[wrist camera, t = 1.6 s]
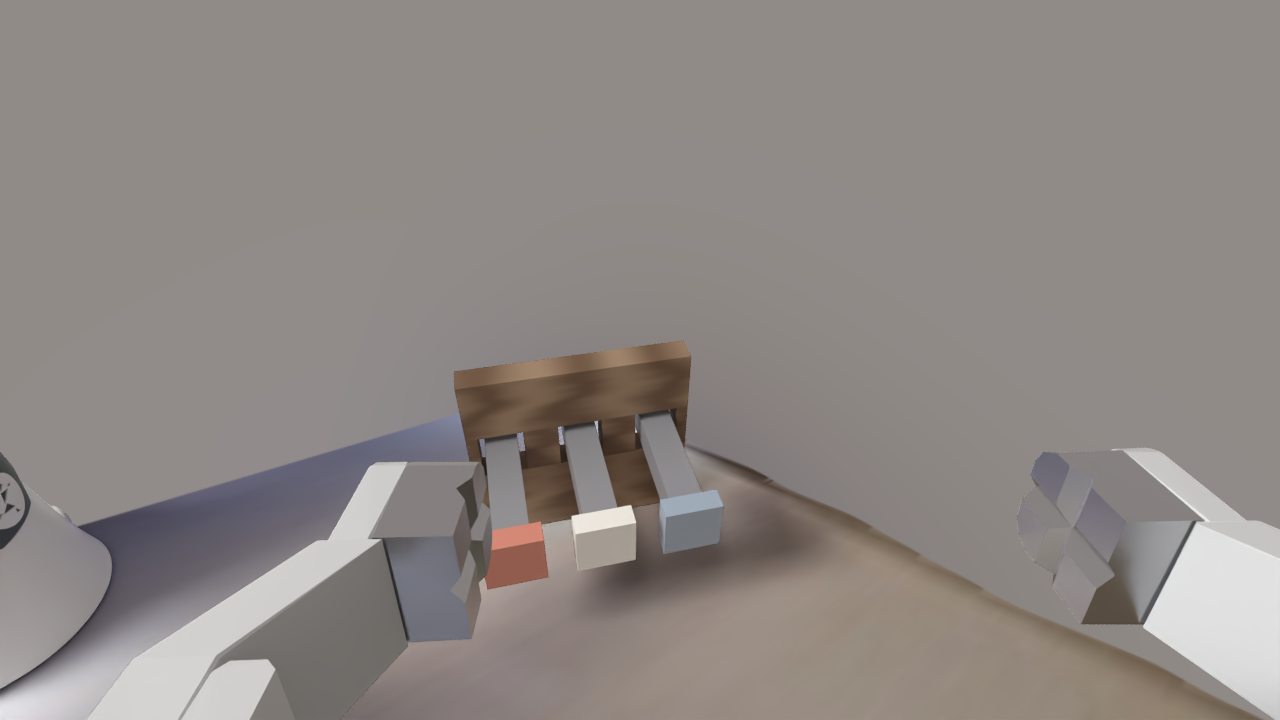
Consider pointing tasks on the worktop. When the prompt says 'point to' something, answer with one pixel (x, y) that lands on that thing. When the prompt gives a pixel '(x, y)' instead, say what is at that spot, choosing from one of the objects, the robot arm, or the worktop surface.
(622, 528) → the off-white plunger
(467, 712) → the worktop surface
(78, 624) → the robot arm
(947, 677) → the worktop surface
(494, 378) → the walnut panel
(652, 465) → the blue-capped grey rod
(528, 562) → the brick-red plunger
